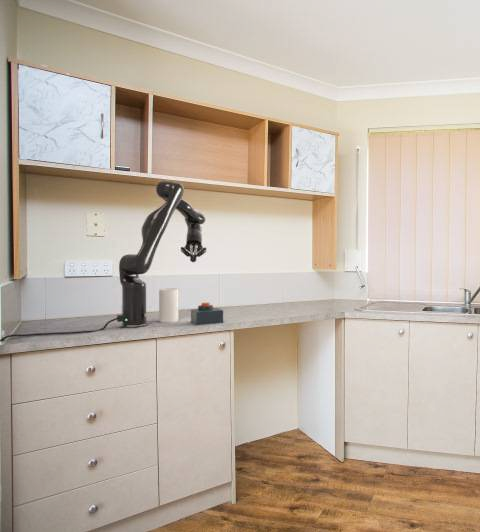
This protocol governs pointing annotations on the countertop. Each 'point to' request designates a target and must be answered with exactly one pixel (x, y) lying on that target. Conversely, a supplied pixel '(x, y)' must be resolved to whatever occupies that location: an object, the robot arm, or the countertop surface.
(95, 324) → the countertop surface
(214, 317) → the grey button base
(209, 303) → the button
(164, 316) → the cup
